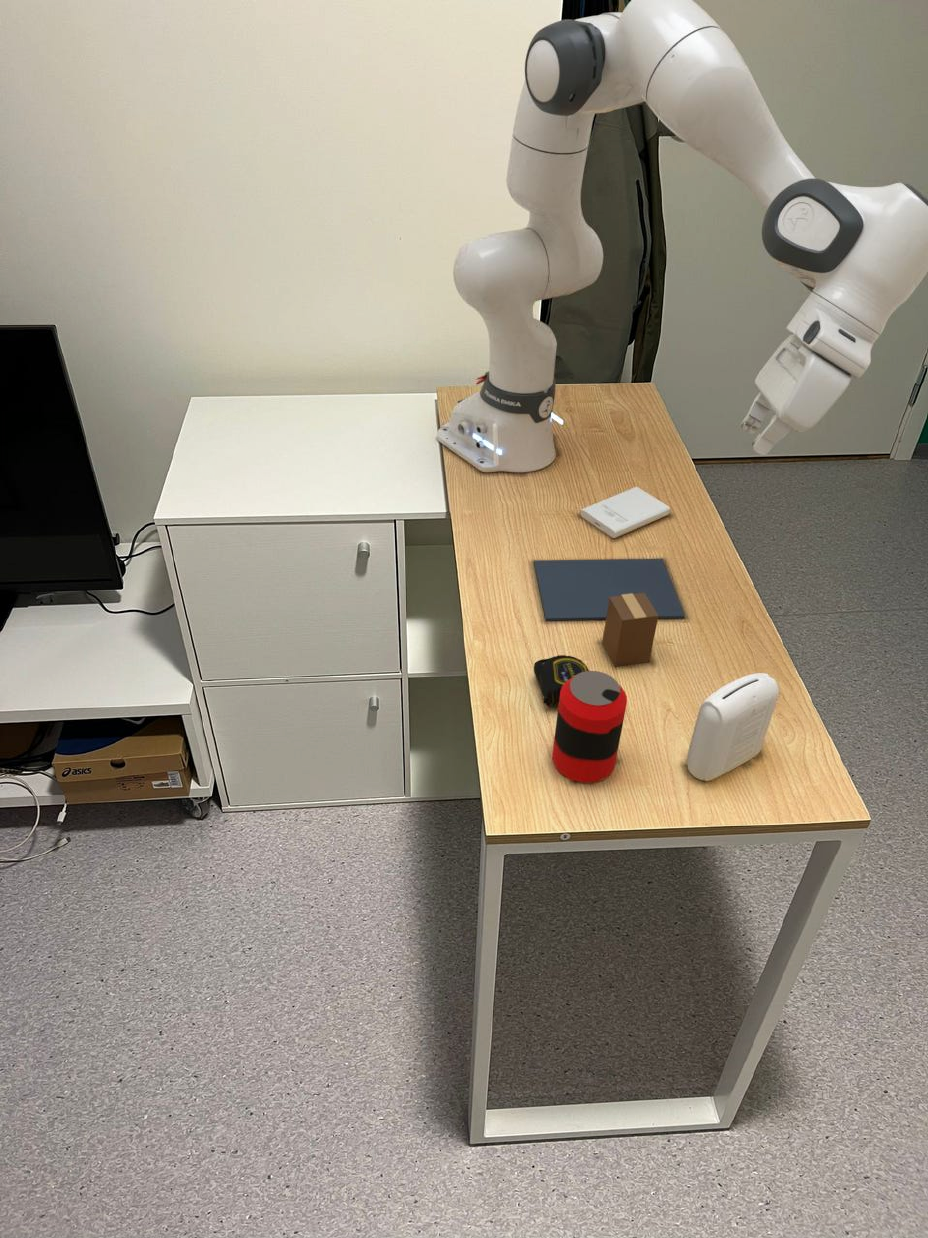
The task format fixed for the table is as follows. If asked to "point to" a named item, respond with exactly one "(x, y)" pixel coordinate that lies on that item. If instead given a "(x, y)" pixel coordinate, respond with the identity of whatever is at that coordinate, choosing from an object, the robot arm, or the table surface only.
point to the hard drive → (625, 512)
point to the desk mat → (603, 587)
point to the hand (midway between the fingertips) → (751, 441)
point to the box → (629, 629)
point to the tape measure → (556, 675)
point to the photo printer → (732, 726)
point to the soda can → (588, 726)
